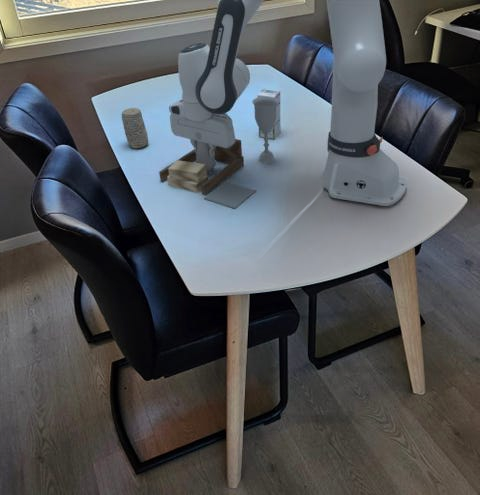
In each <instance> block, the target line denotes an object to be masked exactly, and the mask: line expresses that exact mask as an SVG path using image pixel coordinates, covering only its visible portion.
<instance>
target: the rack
mask: <svg viewBox="0 0 480 495" xmlns="http://www.w3.org/2000/svg"><path fill="white" fill-rule="evenodd" d="M242 149H243V148H242V139H239V138H235V143H234V144H233V145H232V146H231V147H229V148H223V147H219V146H217V147H216V149H215V156H214V158H215V161H216V162H221V163H224V164H227V165H226V166H224V167H223V168H222V169H221V170H219V171H218V172H216V173H215V174H214V175H213V176H211V177H209V178H208V180H207V181H205V182H204V183H203V184H201V188H202V189H201V195H203V196H207V195H209V194H210V193H211V192H212V191H214V190H215V189H216V187H217V188H218V187H219V186H220V185H222V184H223V183H224V182H226V181H227V180H228V179H229V178H230V177H231V176H232V175H234V174H235V173H237V172H238V171H239V170H240V169H242V168H243V167H244V166H245V159H244V156H243V152H242V151H243V150H242ZM177 160H180V161H186V162H193V163H195V162H196V153H195V148H193V149H192V150H191V151H189V152H188V153H186V154H184V155H183V156H182V157H179V158H178V159H177ZM173 163H174V162H173ZM173 163H171V164H169V165H167V166H166V167H165V168H163V169H161V170H160V171H158V174H159V178H160V179H159V180H160V182H161V183H164V182H166V181H168V179H167V176H169V171H168V168H169V167H170V166H171V165H172V164H173Z"/></svg>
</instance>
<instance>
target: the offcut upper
mask: <svg viewBox="0 0 480 495" xmlns="http://www.w3.org/2000/svg"><path fill="white" fill-rule="evenodd" d="M171 164H172V163H171ZM171 164H170V165H171ZM168 171H169V176H170V178H173V179H179V180H186V181H192V182H198V183H199V182H200V181H201V179H202V178H203V177H204V176H205V175H208V174H207V173H206V164H200V163H196V162H186V161H180V160H178V159H176V160H175V161H174V162H173V164H172V165H171V166H170V167H169V168H168Z"/></svg>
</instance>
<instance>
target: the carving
mask: <svg viewBox="0 0 480 495" xmlns="http://www.w3.org/2000/svg"><path fill="white" fill-rule="evenodd" d="M121 122H122V125H123V129H124V134H125V138H126V140H127V143H128V145H129V146H130V148H133V149H140V148H143V147H144V148H145V147H146V146H147V145H148V144H149V136H148V130H147V128H146V124H145V121H144V118H143V115H142V111H141V109H139V108H137V107H131V108H126V109H123V111H122V112H121Z"/></svg>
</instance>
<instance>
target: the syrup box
mask: <svg viewBox="0 0 480 495" xmlns="http://www.w3.org/2000/svg"><path fill="white" fill-rule="evenodd" d="M258 92H259V93H258V94H257V97H256V98H259V97H273V98H276V99H277V100H278V103H277V105H276V121H275V124H274V126H273V128H272V130H271V132H270V133H268V138H269V140H276V139H277V138H278V137H279V135H281V131H282V128H281V126H282V125H281V90H280V89H278V90H277V89H271V88H270V89H269V88H262V89H261V90H260V91H258ZM264 136H265V135H264V133H262V132H261V130H260V129H259V128H258V138H260V139H264Z"/></svg>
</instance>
